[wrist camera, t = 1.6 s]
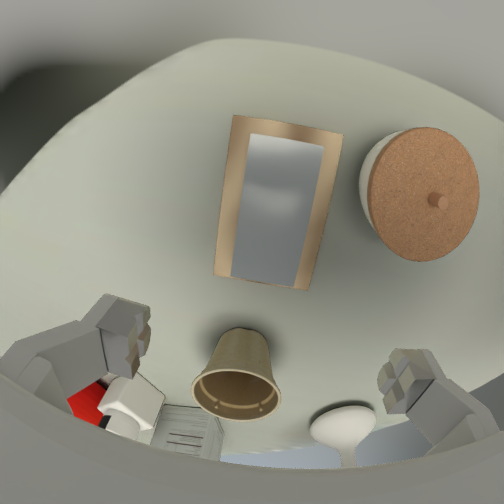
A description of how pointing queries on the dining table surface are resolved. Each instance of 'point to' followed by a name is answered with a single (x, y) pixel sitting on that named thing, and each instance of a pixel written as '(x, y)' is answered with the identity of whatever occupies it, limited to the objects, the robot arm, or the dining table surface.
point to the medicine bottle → (130, 406)
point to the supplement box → (189, 432)
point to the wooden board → (234, 186)
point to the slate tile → (275, 208)
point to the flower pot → (238, 379)
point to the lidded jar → (419, 192)
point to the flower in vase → (344, 430)
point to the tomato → (88, 403)
